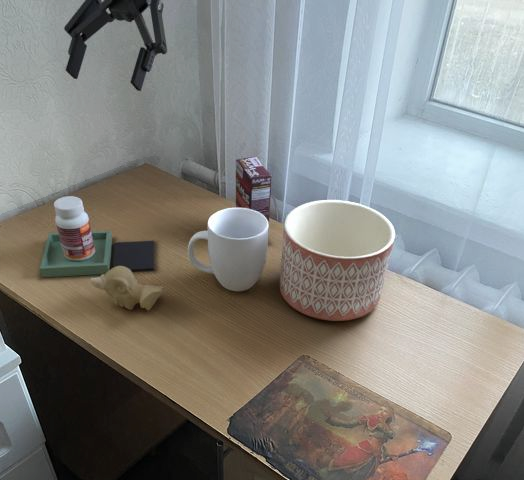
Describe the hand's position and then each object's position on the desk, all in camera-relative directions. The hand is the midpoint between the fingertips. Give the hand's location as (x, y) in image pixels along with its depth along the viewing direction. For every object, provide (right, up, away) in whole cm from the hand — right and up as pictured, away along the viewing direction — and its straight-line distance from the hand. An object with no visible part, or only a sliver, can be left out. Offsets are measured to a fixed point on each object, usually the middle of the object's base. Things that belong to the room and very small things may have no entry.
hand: (102, 80), depth 97 cm
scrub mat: (+3, -30, +12) cm, 32 cm away
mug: (+23, -36, +7) cm, 43 cm away
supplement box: (+27, -24, +19) cm, 41 cm away
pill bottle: (-8, -30, +11) cm, 33 cm away
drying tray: (-8, -30, +11) cm, 33 cm away
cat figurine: (+5, -41, +1) cm, 41 cm away
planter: (+42, -39, +6) cm, 57 cm away
